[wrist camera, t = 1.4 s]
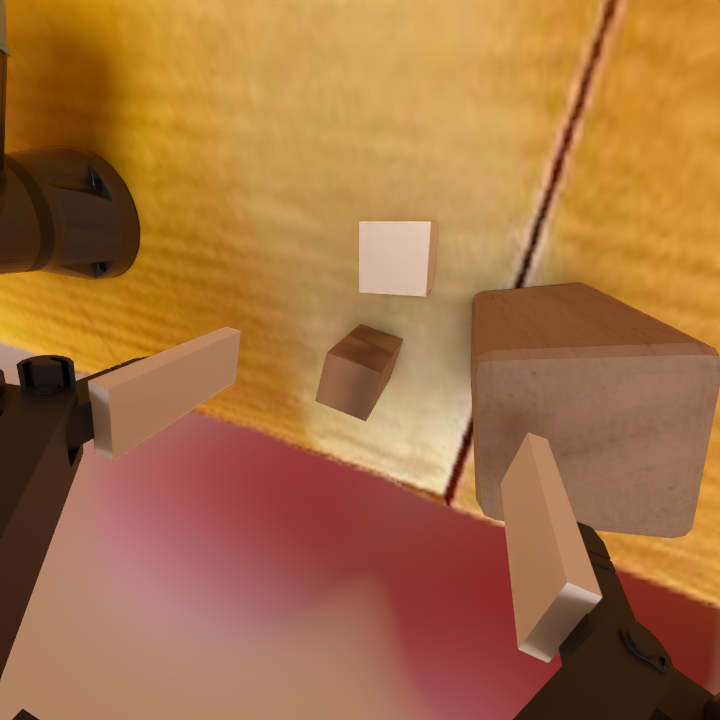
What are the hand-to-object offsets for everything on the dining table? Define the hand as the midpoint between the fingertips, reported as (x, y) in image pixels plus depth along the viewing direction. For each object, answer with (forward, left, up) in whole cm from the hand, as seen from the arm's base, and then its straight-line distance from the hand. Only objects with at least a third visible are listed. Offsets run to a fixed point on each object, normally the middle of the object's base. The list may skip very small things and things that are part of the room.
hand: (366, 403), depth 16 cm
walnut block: (-4, -7, -23) cm, 25 cm away
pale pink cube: (-4, +4, -23) cm, 24 cm away
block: (+10, 0, -23) cm, 26 cm away
